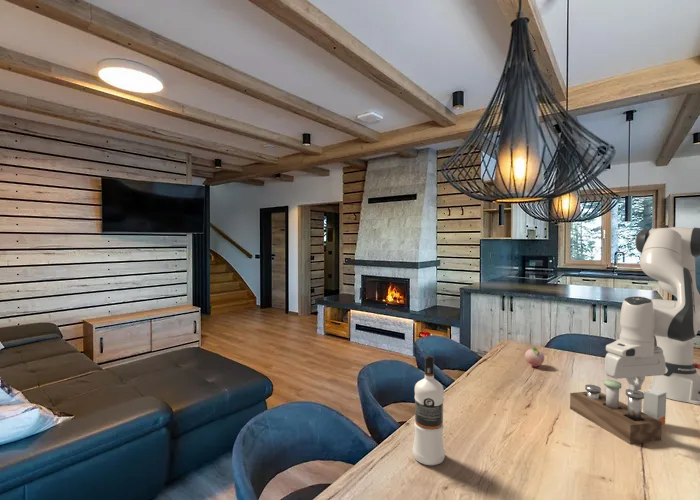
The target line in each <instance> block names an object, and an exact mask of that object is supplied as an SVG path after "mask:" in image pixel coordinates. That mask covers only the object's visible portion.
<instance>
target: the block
mask: <svg viewBox="0 0 700 500" xmlns="http://www.w3.org/2000/svg"><path fill="white" fill-rule="evenodd" d="M569 395H570V396H569V403H570V404H569V409H570V410H572V411H573V412H575V413H576V414H579V415H580V416H582V417H583V418H585V419H587V420H588V421H590V422H592V423H594V424H595V425H597V426H598V427H600V428H601V429H604V430H605V431H607V432H609V433H610V434H612V435H614V436H616V437H617V438H619V439H621V440H622V441H624V442H626V443H627V444H629V445H633V444H641V443H642V444H643V443H650V442H657V441H658V442H659V441H662V430H663V427H662V422H661V421H659V420H657V419H655V418H653V417H651V416H649V415H647V414H645V413H643V411H641V421H633V420H631V419H629V418H628V417H627V407H628V404H625V403H624V402H622V401H621V400H619V409H614V410H612V409H610V408H608V407H606V393H603V392H601V393H599V399H591V398H589V397H587V391H578V392H570V393H569Z"/></svg>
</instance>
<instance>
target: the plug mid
mask: <svg viewBox="0 0 700 500" xmlns="http://www.w3.org/2000/svg"><path fill="white" fill-rule="evenodd" d="M603 384H604V386H605V387H606V388H605V389H606V390H605V391H606V392H605V395H606V407H608V408H610V409H612V410H614V409H619V401H620V389H622V383H621V382H619V381H617V380H613V379H605V380H604V383H603Z"/></svg>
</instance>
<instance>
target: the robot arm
mask: <svg viewBox="0 0 700 500" xmlns="http://www.w3.org/2000/svg"><path fill="white" fill-rule="evenodd" d="M634 244H635V248H636V250H637V251H638V252H639V253H640V259H639V266H640V268H641V271H642V272H643V273H644V274H645V275H646V276H648V277H650V278H651V279H653V280H655V281H658V286H659V287H660V289H662V290H663V291H665V292H666V293H669V294H671V295H673V296H674V297H675V298H676V299H677V300H671V299H661V298H647V297H645V296H627V297H625V298H623V301H622V303H621V307H620V308H621V309H620V316H619V317H620V318H619V325H620V329H621V331H620V333H619V339H616V340H614V341H613V342H610V343H608V344H606V345H605V351H606V352H607V353H606V354H605V358H604V373H605V374H606V376H607V377H609V378H613V379H615V380H617V379H625V380H626V381H627V383H628V389H631V390H638V391H641V390H642V385H643V383H644V382H645V379H646V377H652V379H651V380H652V381H651V382H650V383H649V387H650V389H652V388H654V389H657V390H661V391H664V392H666V399H670V400H673V401H677V402H684V403H688V404H694V405H700V374H699V373H698V372H697V369H698V370H700V363H696V362H694V348H695V347H694V345H693V343H692V342H691V341H690V340H692V339H693V338H696V337H697V334H698V333H699V332H700V293H699V290H698V288H697V287H698V286H697V283H696V281H697V280H696V258H698V257H699V256H700V227H694V228H693V227H680V226H672V227H659V228H658V227H657V228H649V227H648V228H644V229H641V230H640V231H639V232H637V234H636V236H635V241H634ZM698 331H699V332H698ZM654 337H655V338H654ZM655 340H656V345H655Z"/></svg>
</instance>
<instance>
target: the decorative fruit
mask: <svg viewBox="0 0 700 500" xmlns="http://www.w3.org/2000/svg"><path fill="white" fill-rule="evenodd" d="M524 359H525V361H526V362H527V363H528V364H530V365H531V366H533V367H534V368H535V367H540V366H541V365H542V364H543V363H544V361H545V355H544V354H543V353H542V351H540V350H539V349H538V348H537V347H531V348H529V349H528V350H526V351H525V353H524Z"/></svg>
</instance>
